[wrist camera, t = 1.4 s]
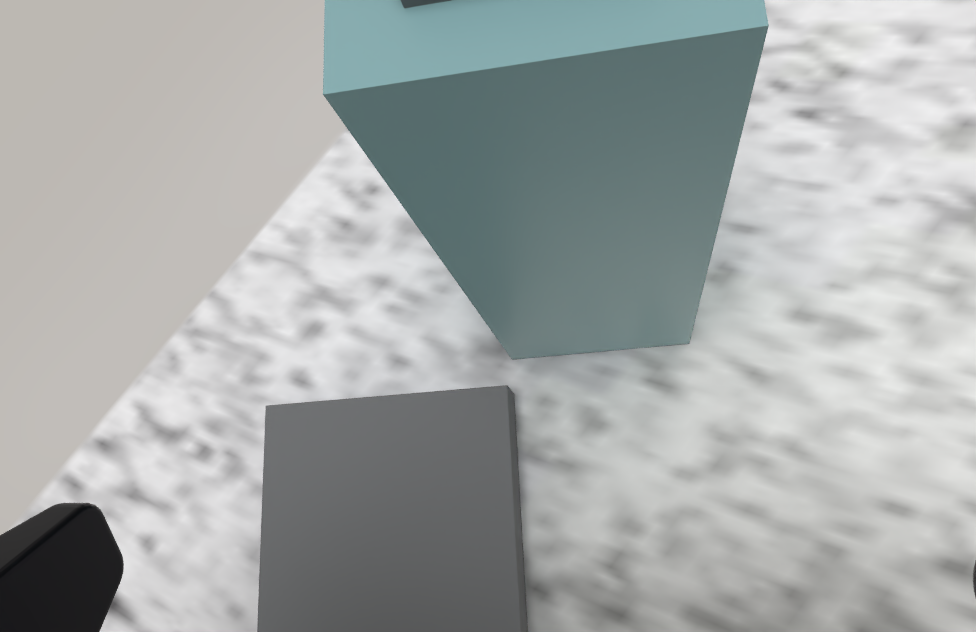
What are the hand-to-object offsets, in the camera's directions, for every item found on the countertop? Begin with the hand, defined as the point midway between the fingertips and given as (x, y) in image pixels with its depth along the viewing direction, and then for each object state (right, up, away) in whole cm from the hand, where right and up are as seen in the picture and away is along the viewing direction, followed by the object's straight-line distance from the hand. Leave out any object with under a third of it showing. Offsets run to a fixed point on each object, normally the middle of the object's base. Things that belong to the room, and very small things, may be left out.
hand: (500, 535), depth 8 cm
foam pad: (-3, -4, +14) cm, 14 cm away
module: (+3, +4, +15) cm, 15 cm away
